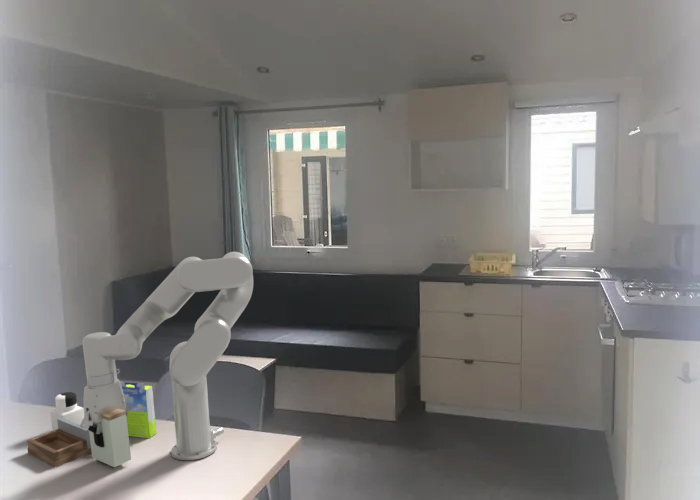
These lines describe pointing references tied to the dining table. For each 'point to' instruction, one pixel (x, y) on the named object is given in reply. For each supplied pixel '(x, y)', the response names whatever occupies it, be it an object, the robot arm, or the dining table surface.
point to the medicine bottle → (66, 409)
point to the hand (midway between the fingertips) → (109, 441)
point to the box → (139, 409)
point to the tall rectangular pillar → (112, 439)
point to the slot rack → (61, 444)
